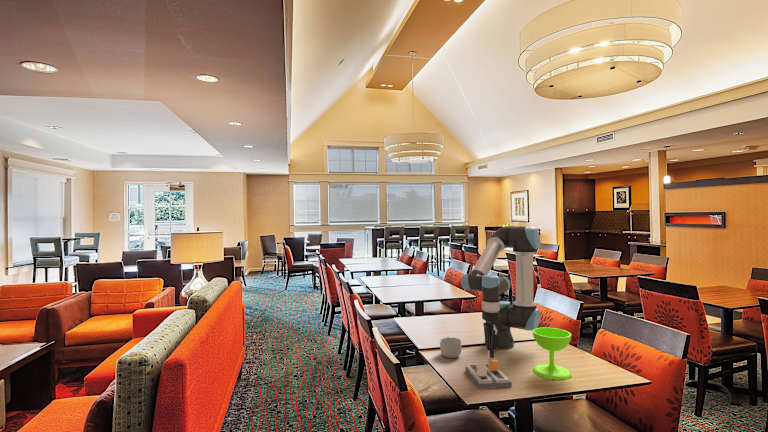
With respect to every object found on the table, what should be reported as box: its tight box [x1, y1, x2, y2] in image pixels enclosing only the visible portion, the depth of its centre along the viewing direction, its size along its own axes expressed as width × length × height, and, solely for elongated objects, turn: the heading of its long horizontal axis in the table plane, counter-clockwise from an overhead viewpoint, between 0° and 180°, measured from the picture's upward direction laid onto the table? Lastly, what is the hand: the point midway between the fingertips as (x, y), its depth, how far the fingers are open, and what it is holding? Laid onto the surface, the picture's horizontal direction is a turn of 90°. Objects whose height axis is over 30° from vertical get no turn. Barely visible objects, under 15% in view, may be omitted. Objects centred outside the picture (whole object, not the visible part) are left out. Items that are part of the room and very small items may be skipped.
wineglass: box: [532, 326, 572, 381], centre depth 175 cm, size 16×16×18 cm
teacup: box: [439, 336, 462, 359], centre depth 198 cm, size 14×11×8 cm
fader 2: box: [489, 358, 499, 374], centre depth 170 cm, size 3×3×5 cm
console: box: [464, 362, 513, 390], centre depth 169 cm, size 14×18×3 cm
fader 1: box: [476, 363, 487, 379], centre depth 165 cm, size 3×3×5 cm
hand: (491, 364), depth 172 cm, fingers closed
